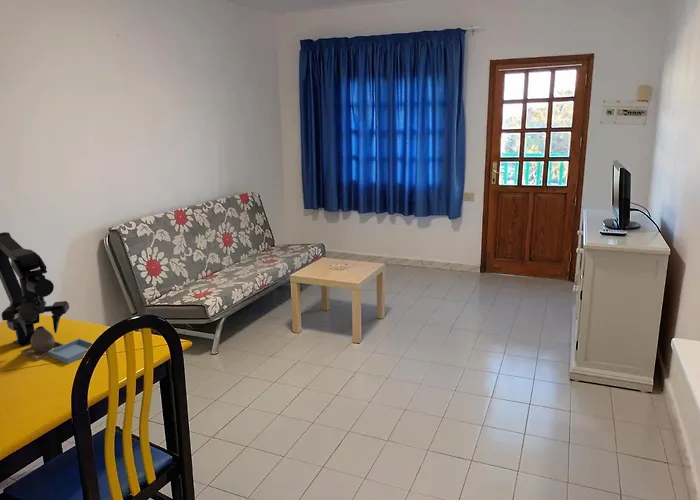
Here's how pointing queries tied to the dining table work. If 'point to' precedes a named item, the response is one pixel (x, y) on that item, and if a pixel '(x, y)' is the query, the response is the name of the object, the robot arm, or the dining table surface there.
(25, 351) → the walnut frame
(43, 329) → the vase
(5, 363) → the dining table surface
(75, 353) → the slate tray
